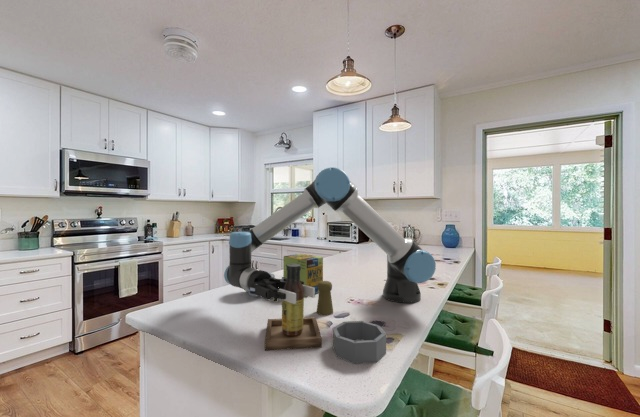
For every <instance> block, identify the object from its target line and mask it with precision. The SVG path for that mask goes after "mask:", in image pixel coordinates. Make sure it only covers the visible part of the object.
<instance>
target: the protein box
mask: <svg viewBox="0 0 640 417" xmlns="http://www.w3.org/2000/svg"><path fill="white" fill-rule="evenodd" d="M288 264H300V265H301V270H300V281H303V282H304V285H306V286H310V287H314V288H315V295H317V294H318V295H319V290H318V283H319V282H321V281H324V257H323V256H317V255H313V254H312V255H311V254H304V253H295V254H289V255H283V270H282V271H283V273H282V274H283V276H282V277H286V278H287V265H288ZM303 296H304V298H307V297H309V296H305V295H303Z"/></svg>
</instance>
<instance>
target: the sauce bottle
mask: <svg viewBox="0 0 640 417" xmlns="http://www.w3.org/2000/svg"><path fill="white" fill-rule="evenodd" d="M300 270H301V265H300V264H288V265H287V280H286V283H285V286H284V289H283V290H287V291H290V292H293V293H296V304H293V303H290V302H287V301H284V300H281V319H282V332H283V333H284V334H285V335H286V336H297V335H300V334H301V333H302V331H303V318H304V313H305V311H304V310H305V309H304V308H305V307H304V304H305V303H304V302H305V296H303V292H304V289H303V285H302V284H301V282H300Z"/></svg>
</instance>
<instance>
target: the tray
mask: <svg viewBox="0 0 640 417" xmlns="http://www.w3.org/2000/svg"><path fill="white" fill-rule="evenodd" d="M266 322H267V323H266V330H265V331H266V332H265V337H264V351H265V352H269V351H284V350H285V351H287V350H301V349H303V350H304V349H318V348H322V347H323V346H322V345H323V339H322V334H321V330H320V328H319V324H318V320H317V317H316V316H309V317H308V316H307V317H303V331H302V333H301V334H300V335H297V336H286V335H285V334H284V333H283V332H282V318H267V321H266Z"/></svg>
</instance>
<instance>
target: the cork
mask: <svg viewBox="0 0 640 417" xmlns="http://www.w3.org/2000/svg"><path fill="white" fill-rule="evenodd" d="M332 289H333V284H332V282H331V281H328V280H323V281H321V282H319V283H318V290H319V293H318V299H317V305H316V314H317V315H320V316H330V315H333V314H334V306H333V301H332V300H333V299H332V292H331V291H332Z"/></svg>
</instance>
